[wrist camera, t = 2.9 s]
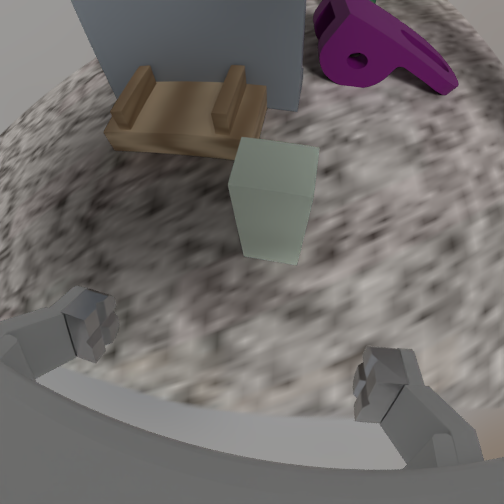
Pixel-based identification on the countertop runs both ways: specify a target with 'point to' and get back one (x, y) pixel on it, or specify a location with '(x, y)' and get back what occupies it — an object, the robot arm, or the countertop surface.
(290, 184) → the cabinet block
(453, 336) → the countertop surface
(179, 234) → the countertop surface
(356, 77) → the mounting bracket
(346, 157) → the countertop surface
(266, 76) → the wall board
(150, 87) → the cleat ledge
